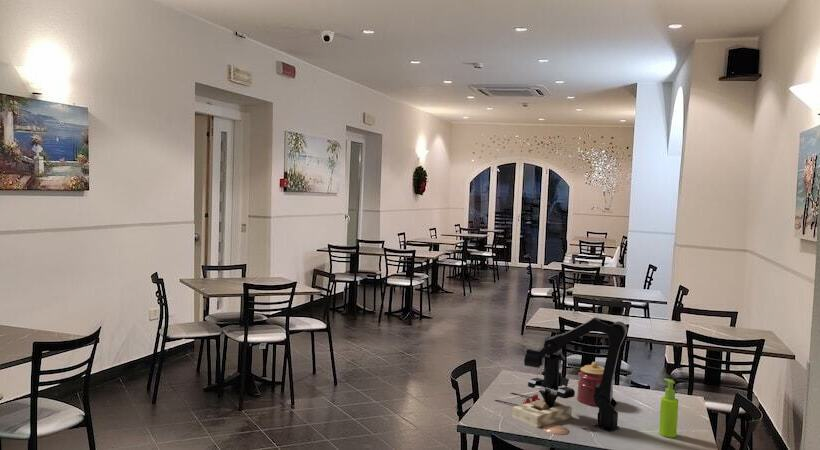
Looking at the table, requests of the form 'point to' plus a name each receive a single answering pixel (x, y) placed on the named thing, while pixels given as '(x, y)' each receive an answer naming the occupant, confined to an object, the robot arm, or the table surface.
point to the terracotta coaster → (555, 429)
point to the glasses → (524, 400)
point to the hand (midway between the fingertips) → (549, 409)
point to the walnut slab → (540, 405)
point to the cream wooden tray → (541, 414)
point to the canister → (589, 383)
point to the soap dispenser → (669, 412)
